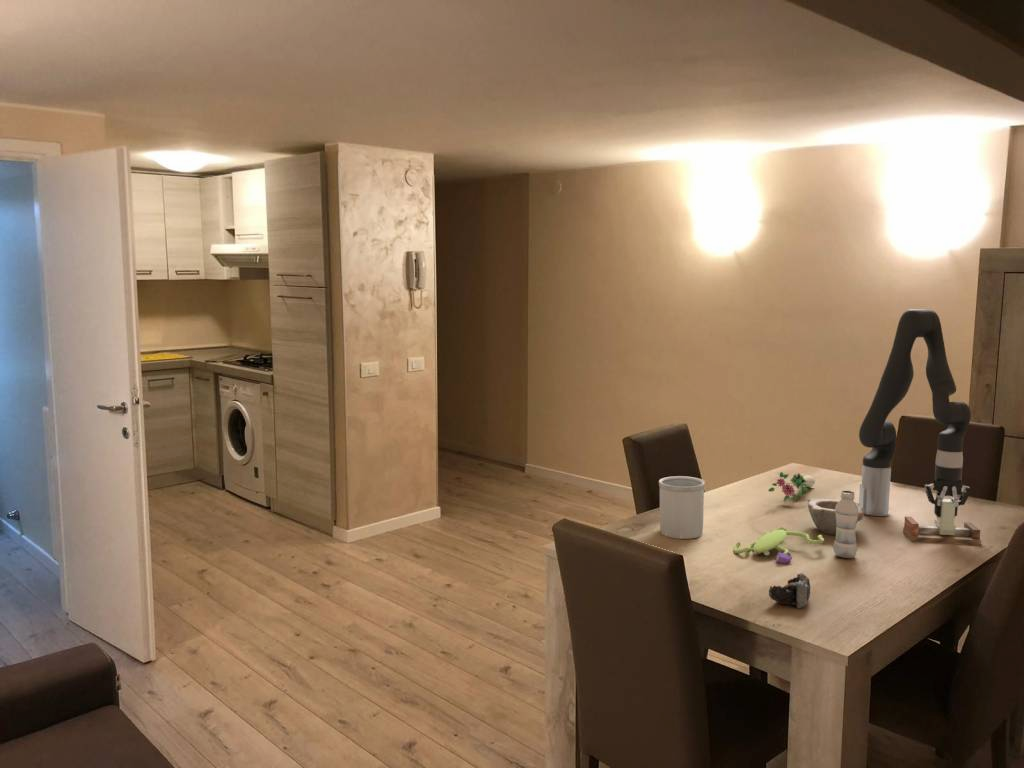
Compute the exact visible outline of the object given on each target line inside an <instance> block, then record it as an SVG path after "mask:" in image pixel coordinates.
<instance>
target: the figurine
mask: <svg viewBox="0 0 1024 768" xmlns="http://www.w3.org/2000/svg"><path fill="white" fill-rule="evenodd" d="M787 536H797V537H798V536H799V537H803V538H805V539H806V541H807V543H809V544H813V545H814V544H815V545H817V544H823V543H824V542H825V538H824V537H823V535H822V534H819V535H817V540H816V539H814V540H813V539H811V537H810V535H809V534H808V533H805V532H800V531H789V530H788V531H787V528H786V527H779V528H777V529H776V530H775V529H773V530H771V531H769V532H768V533H766V534H763V536H761V537H760V538H758V539H757V540H756V541H754V542H752V543H750V544H749V545H746V546H745V547H744V548H741V549H739V547H740V546H741V545H742V544H741V542H736V543H735V545H734V547H733V553H734V554H737V555H738V554H743V553H746V552H748V551H750V550H751V549H753V551H754V552H755V553H757V555H760V554H761V553H763V554H764V556H767V557H768V556H769V555H770V551H771V550H772V549H777V550H778V552H777V554H776V555H775V556H774V557H775V561H776V562H777V563H780V564H788V563H790V562H791V561H792V559H793V556H792V554H791V553H789V550H788V549H787V548H785V547H782V546H780V544H782V543H783V541H784V540H785V539H786V537H787Z"/></svg>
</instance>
